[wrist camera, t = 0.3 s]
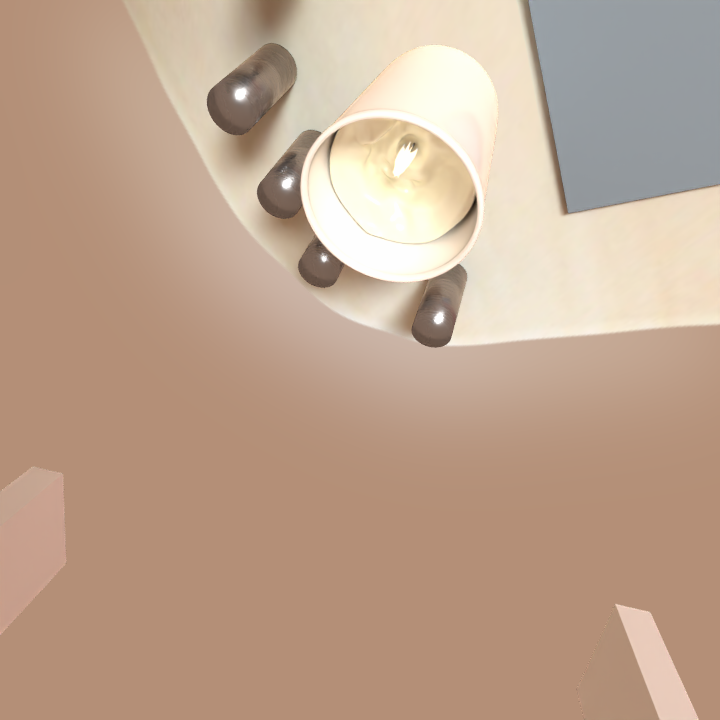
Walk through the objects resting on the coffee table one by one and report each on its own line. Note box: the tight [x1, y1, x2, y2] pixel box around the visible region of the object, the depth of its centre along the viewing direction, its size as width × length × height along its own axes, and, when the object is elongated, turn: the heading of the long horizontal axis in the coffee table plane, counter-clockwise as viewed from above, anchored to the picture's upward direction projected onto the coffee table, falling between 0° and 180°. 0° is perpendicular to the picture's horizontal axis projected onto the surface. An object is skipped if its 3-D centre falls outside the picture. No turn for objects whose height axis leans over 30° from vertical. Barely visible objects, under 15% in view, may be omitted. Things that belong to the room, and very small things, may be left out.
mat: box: [528, 0, 720, 213], centre depth 29 cm, size 18×14×1 cm
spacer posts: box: [207, 43, 467, 347], centre depth 37 cm, size 29×10×7 cm, turn 24°
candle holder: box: [300, 45, 498, 283], centre depth 32 cm, size 10×10×12 cm
